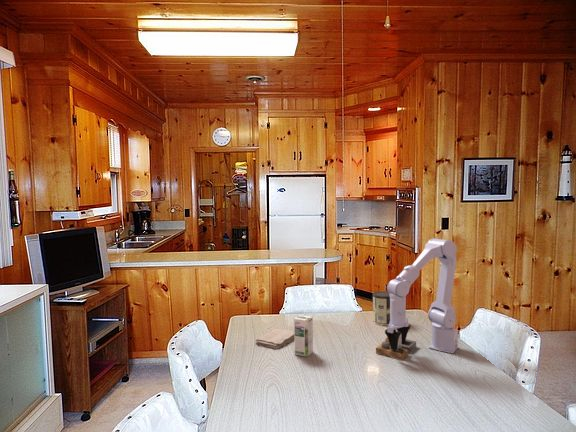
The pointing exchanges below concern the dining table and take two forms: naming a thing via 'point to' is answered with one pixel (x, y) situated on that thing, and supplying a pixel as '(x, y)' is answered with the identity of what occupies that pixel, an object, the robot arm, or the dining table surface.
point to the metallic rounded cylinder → (399, 344)
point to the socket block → (409, 345)
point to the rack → (390, 351)
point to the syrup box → (303, 335)
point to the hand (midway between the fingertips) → (398, 346)
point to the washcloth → (276, 338)
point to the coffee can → (381, 308)
